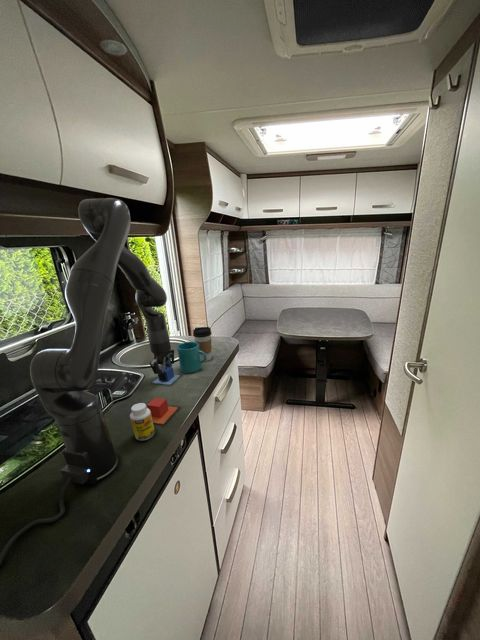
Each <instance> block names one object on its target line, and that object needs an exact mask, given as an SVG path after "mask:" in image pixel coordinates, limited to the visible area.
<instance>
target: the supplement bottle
mask: <svg viewBox="0 0 480 640" xmlns="http://www.w3.org/2000/svg"><path fill="white" fill-rule="evenodd" d="M130 411H131V412H130V414H129V419H130V423H131V426H132V430H133V435H134V438H135V439H136V440H137V441H141V442H142V441H147V440H149V439H152V438H153V436H154V435H155V433H156V431H155V430H156V429H155V426H154V423H153V421H152V416H151V412H150V410H149V409H148V407H147V404H146V403H144V402H138V403H135V404H133V405H131V408H130Z"/></svg>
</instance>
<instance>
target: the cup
mask: <svg viewBox="0 0 480 640" xmlns="http://www.w3.org/2000/svg"><path fill="white" fill-rule="evenodd" d="M176 350H177V356H178V362H179V366H180V367H179V369H180V371H181V372H182V373H184V374H193V373H197V372H199V371H200V370H201V369H202V364H204V363H205V362H207V361H206V358H207V357H206V354H205V353H204V352H203V351H201V350H199V344H198V343H196V342H195V341H184V342H182V343H181V342H180V343H179V344H178V345H176ZM200 353H201V354H203V355H204V360H202V361H201V359H200Z"/></svg>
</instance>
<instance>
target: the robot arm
mask: <svg viewBox="0 0 480 640" xmlns="http://www.w3.org/2000/svg"><path fill="white" fill-rule="evenodd" d="M77 212H78V218H79V220H80V222H81V224H82V226H83V228H84V230H85V231H86V232H87V233H88V234H89V235H90V237H91V238H92V239H93V240H94V241H95V243H94V244H92V246H91V247H89V248H88V249H87V250H86V251H85V252H84V253H83V254H82V255H81V256H80V257H79V258H77V260H76V261H75V262H74V264H73V265H72V266H71V269H70V271H69V274H68V277H67V282H66V285H65V289H64V297H65V300H66V303H67V306H68V308H69V310H70V313H71V314H72V317H73V320H74V323H75V325H74V326H75V330H74V331H75V332H74V337H73V341H72V344H71V347H70V348H47V349H42V350H41V351H39V352H37V353H35V355H34V356H33V358H32V359H31V362H30V365H29V375H30V379H31V382H32V385H33V388H34V390H35V392H36V394H37V396H38V398H39V400H40V402H41V404H42V406H43V408H44V410H45V412H46V413H47V414H49V416H51V417H52V418H53V420H54V423H55V425H56V427H57V430H58V432H59V435H60V438H61V440H62V442H63V445H64V449H62V450H61V451H62V455H63V457H64V460H65V462H66V465H65V466H63V467H62V468H61V469H60V473H61V476H62V477H63V480H64V481H66V482H65V483H64V484H63V486H62V488H61V490H60V493H59V502H58V506H59V510H60V511H59V513H58V514H57V515H55V516H53V517H48V518H47V517H45V518H37V519H35V520H33V521H31V522H29V523H28V524H26V525H25V526H24V527H22V528H21V529H20V530H18V531H17V532H16V533H15V534H14V535H13V536H12V537H11V538H10V539H9V540H8V541H7V543H6V544H5V545H4V546H3V549H2V550H1V552H0V567H1V566H2V563H3V561H4V559H5V557H6V555H7V553H8V551H9V550H10V548H11V547H12V545H13V544H14V543H15V542H16V541H17V539H19V537H20V536H22V535H23V534H25V532H26V531H28V530H30V529H31V528H32V527H34V526H36V525H40V524H50V523H53V522H56V521H58V520H59V519H61V517H63V516H64V514H65V512H66V507H65V494H66V492H67V490H68V488H69V486H70V484H71V483H75V484H80V485H84V484H88V485H92V486H94V485H96V484H97V482H99V481H101V480H104V479H105V478H107V477H109V476H110V475H111V474H112V473H113V472H114V471H115V470H116V469H117V467H118V464H119V459H118V456H117V454H116V450H115V448H114V444H113V440H112V437H111V435H110V432H109V429H108V425H107V422H106V419H105V418H106V417H105V416H104V415H105V414H104V412H103V409H102V405H101V402H100V399H99V398H98V396H97V395H96V394H94V393H92V392H89V391H87V390H88V389H90V388H91V386H92V385H93V384H94V382H95V380H96V378H97V375H98V370H99V365H100V360H101V359H100V358H101V350H102V340H103V333H104V327H105V322H106V317H107V313H108V309H109V304H110V301H111V297H112V293H113V289H114V284H115V278H116V274H117V270H118V267H119V269H120V270H121V272H122V273H123V274H124V276H125V278H126V279H127V280H128V282H129V284H130V285H131V286H132V288H133V289H134V290H136V291H135V294H134V295H135V302H136V304H137V307H138V308H139V310H140V312H141V314H142V316H143V318H144V320H145V325H146V329H147V338H148V344H149V349H150V352H151V353H152V354H153V360H152V361H149V366H150V368H151V371H152V372H153V374H154V375H158V374H159V379H160V381H166V379H165V373H164V368H165V366H166V367H173V365H174V364H175V349H172V347H171V339H170V335H169V331H168V330H169V329H168V327H167V320H166V315H165V314H164V313H163V312H161V311H157V310H154V308H161V307H164V306H165V305H166V303H167V300H168V297H167V293H166V291H165V289H164V288H163V286H162V285H161V284H160V283H158V282H157V281H156V279H154V278H153V276H151V273H150V272H149V270H148V268H147V266H146V265H145V263H144V262H143V260H141V258H139V257H138V255H136V254H134V252H133V251H131V250H129V248H127V247H126V246H125V244H126V242H127V239H128V237H129V233H130V230H131V213H130V209H129V207H128V205H127V204H126V203H125V202H124V201H123V200H122V199H119V198H115V197H106V198H104V197H101V198H86V199H83V200H81V201H80V202H79V204H78V208H77ZM160 368H161V370H160Z"/></svg>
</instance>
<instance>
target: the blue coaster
mask: <svg viewBox="0 0 480 640" xmlns="http://www.w3.org/2000/svg"><path fill="white" fill-rule="evenodd" d="M180 377H181V375H180V374H175V373H174V377H173V378H172V379H171V380H170V381H169V382H168V381H159V378H158V377H157V378H156V379H154V380H153V381H152V382H151V383H152V384H157V385H165V386H171V385H172V384H173V383H174V382H175V381H176V380H177V379H179V378H180Z"/></svg>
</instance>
